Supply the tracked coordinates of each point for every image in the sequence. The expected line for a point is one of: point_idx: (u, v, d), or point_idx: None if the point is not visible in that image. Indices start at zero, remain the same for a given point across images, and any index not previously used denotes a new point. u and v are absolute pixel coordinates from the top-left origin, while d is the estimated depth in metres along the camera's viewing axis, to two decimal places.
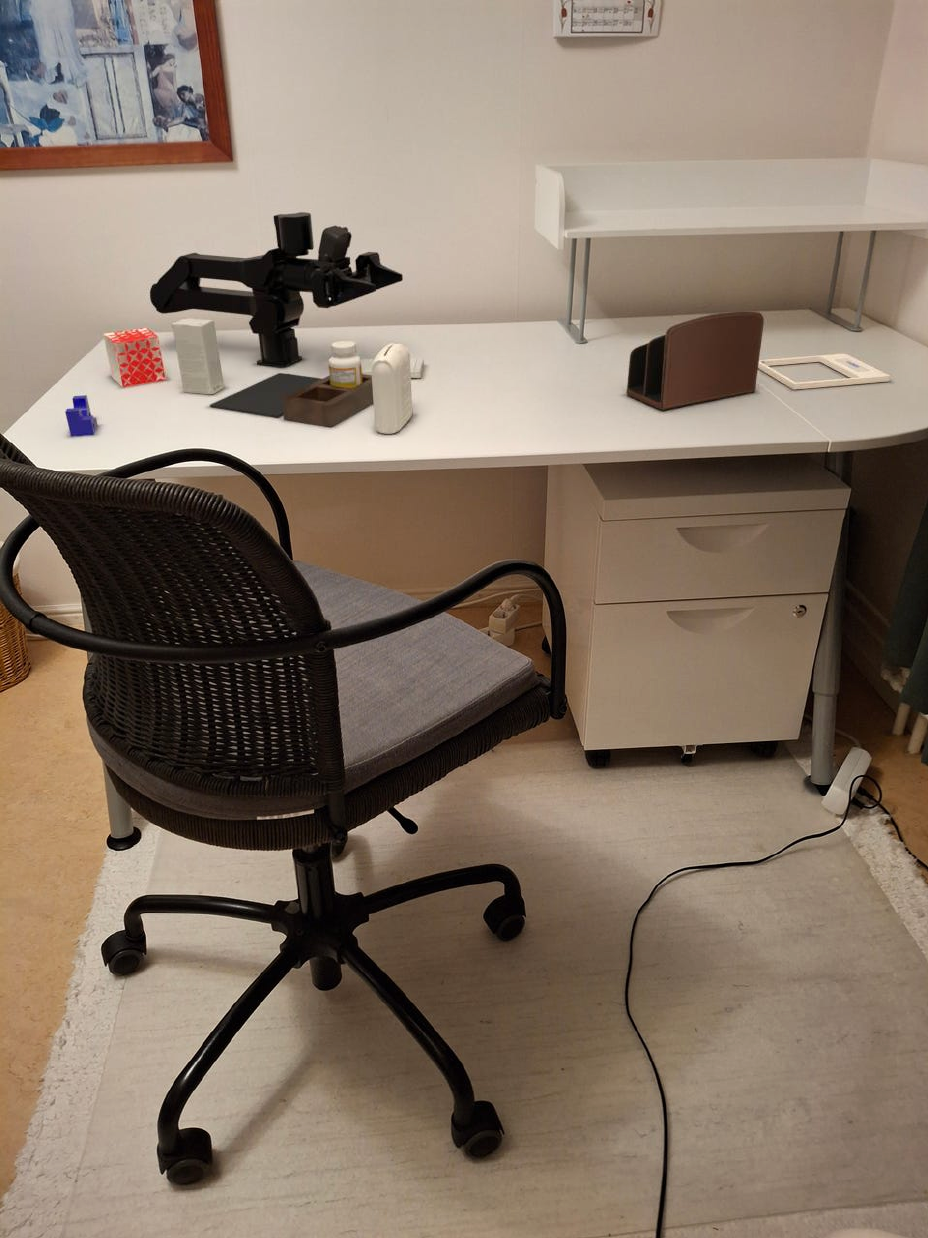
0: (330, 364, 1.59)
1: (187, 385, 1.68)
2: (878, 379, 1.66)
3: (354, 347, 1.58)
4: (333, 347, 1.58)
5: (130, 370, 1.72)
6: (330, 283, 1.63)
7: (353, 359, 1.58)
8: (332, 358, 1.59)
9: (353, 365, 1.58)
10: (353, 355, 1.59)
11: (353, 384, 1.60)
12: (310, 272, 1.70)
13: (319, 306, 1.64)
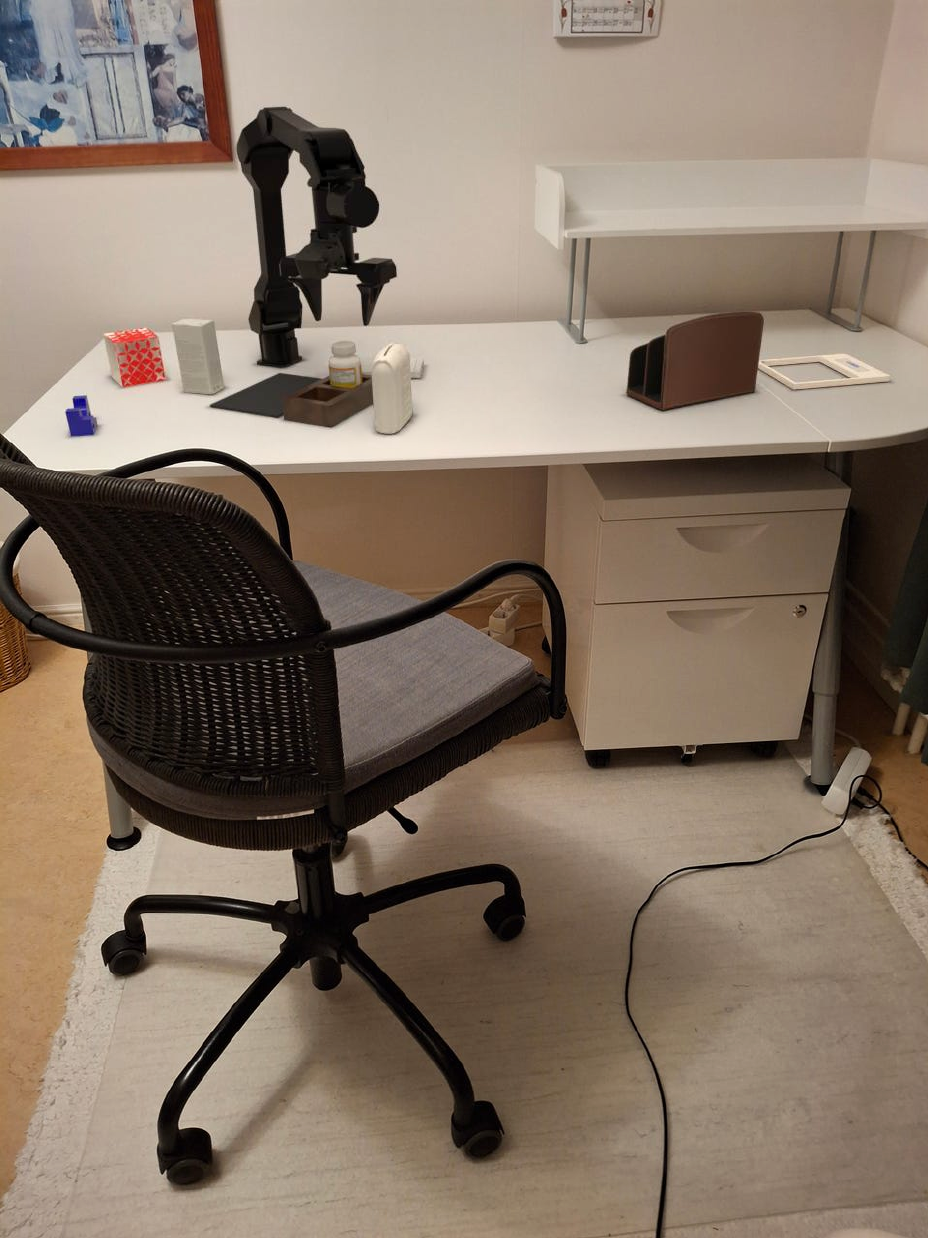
0: (330, 364, 1.59)
1: (187, 385, 1.68)
2: (878, 379, 1.66)
3: (354, 347, 1.58)
4: (333, 347, 1.58)
5: (130, 370, 1.72)
6: None
7: (353, 359, 1.58)
8: (332, 358, 1.59)
9: (353, 365, 1.58)
10: (353, 355, 1.59)
11: (353, 384, 1.60)
12: None
13: None
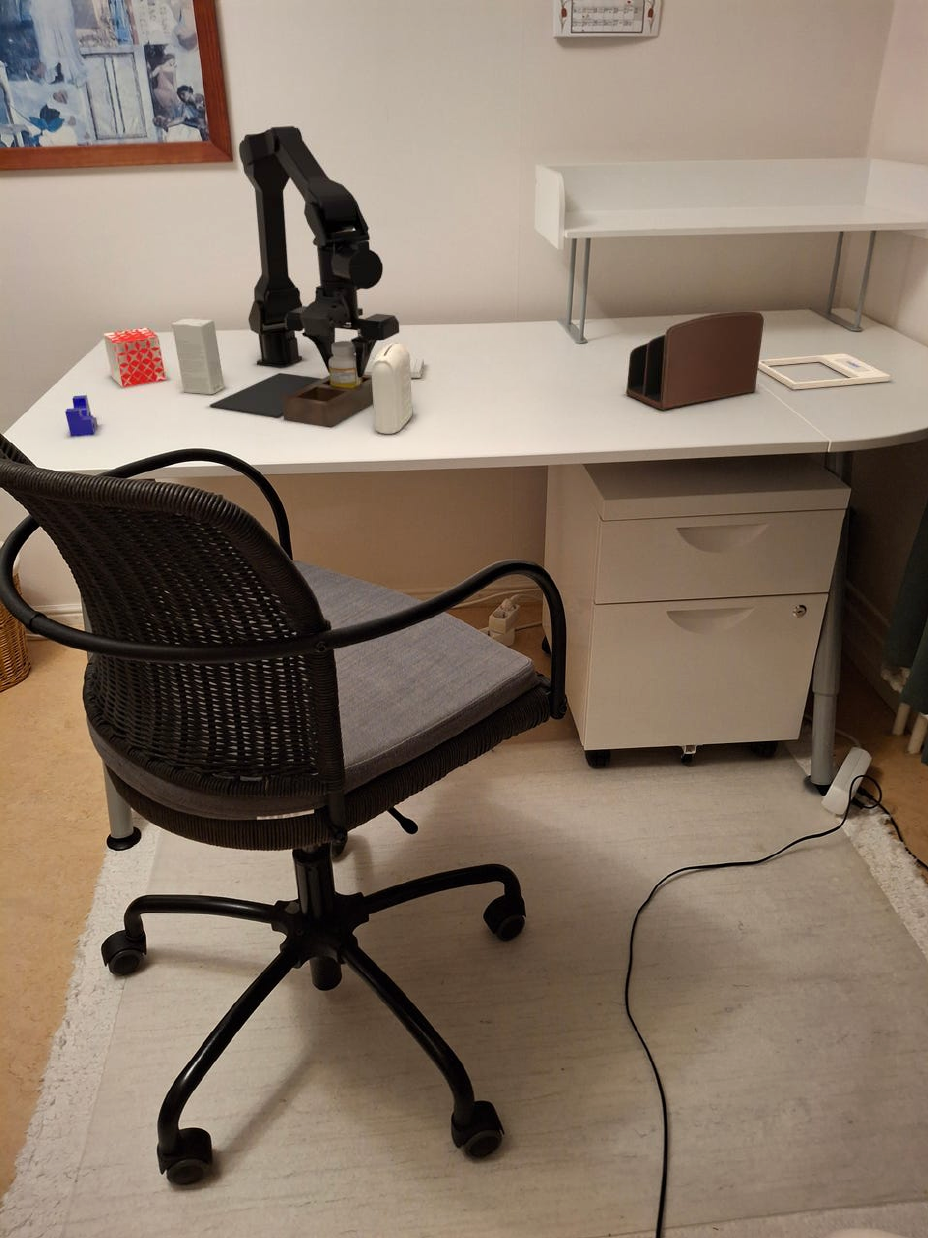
0: (330, 364, 1.59)
1: (187, 385, 1.68)
2: (878, 379, 1.66)
3: (354, 347, 1.58)
4: (333, 347, 1.58)
5: (130, 370, 1.72)
6: None
7: (353, 359, 1.58)
8: (332, 358, 1.59)
9: (353, 365, 1.58)
10: (353, 355, 1.59)
11: (353, 384, 1.60)
12: None
13: None
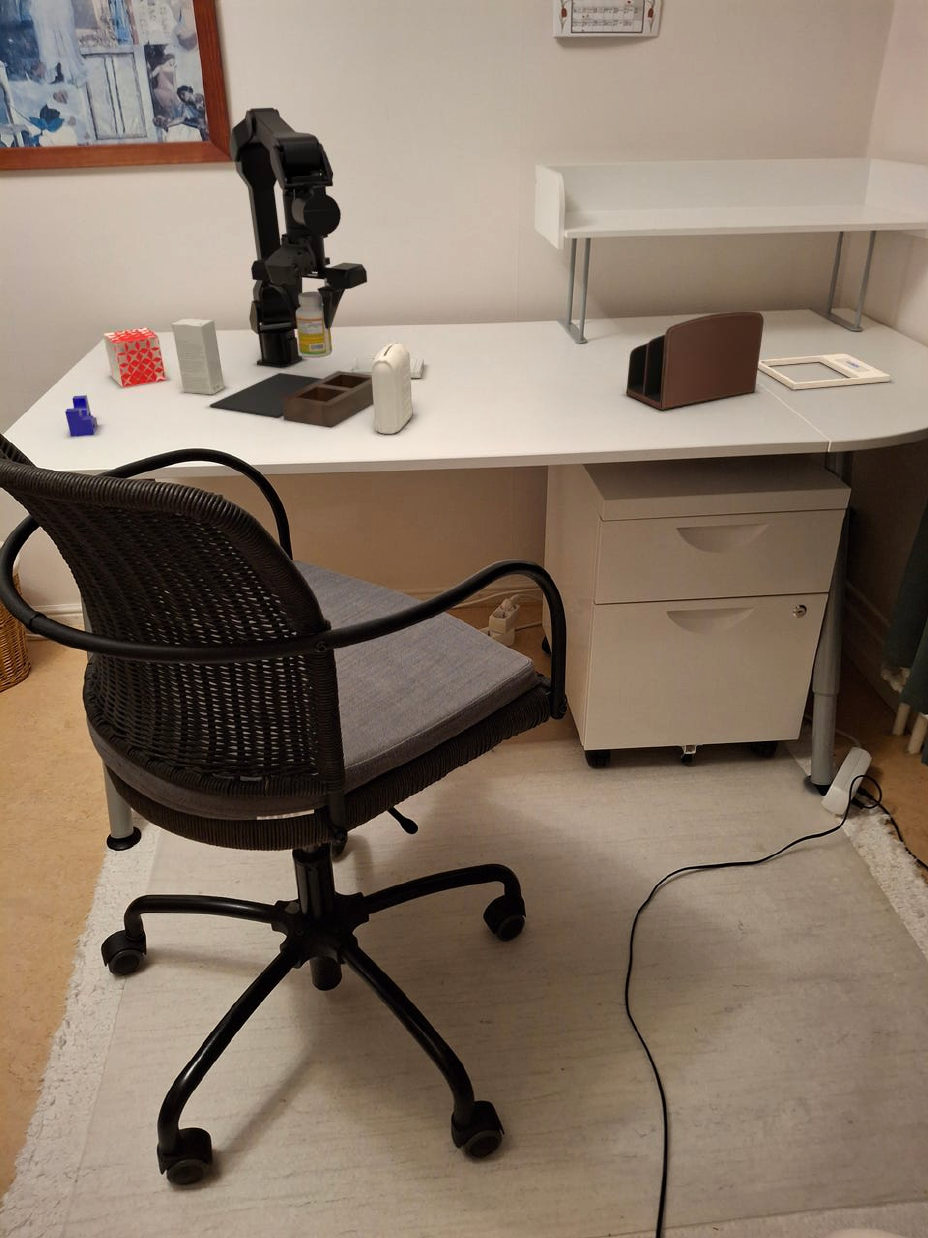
0: (297, 315, 1.56)
1: (187, 385, 1.68)
2: (878, 379, 1.66)
3: (321, 297, 1.55)
4: (300, 297, 1.55)
5: (130, 370, 1.72)
6: None
7: (321, 310, 1.56)
8: (299, 309, 1.56)
9: (320, 315, 1.56)
10: (320, 306, 1.56)
11: (320, 336, 1.57)
12: None
13: None
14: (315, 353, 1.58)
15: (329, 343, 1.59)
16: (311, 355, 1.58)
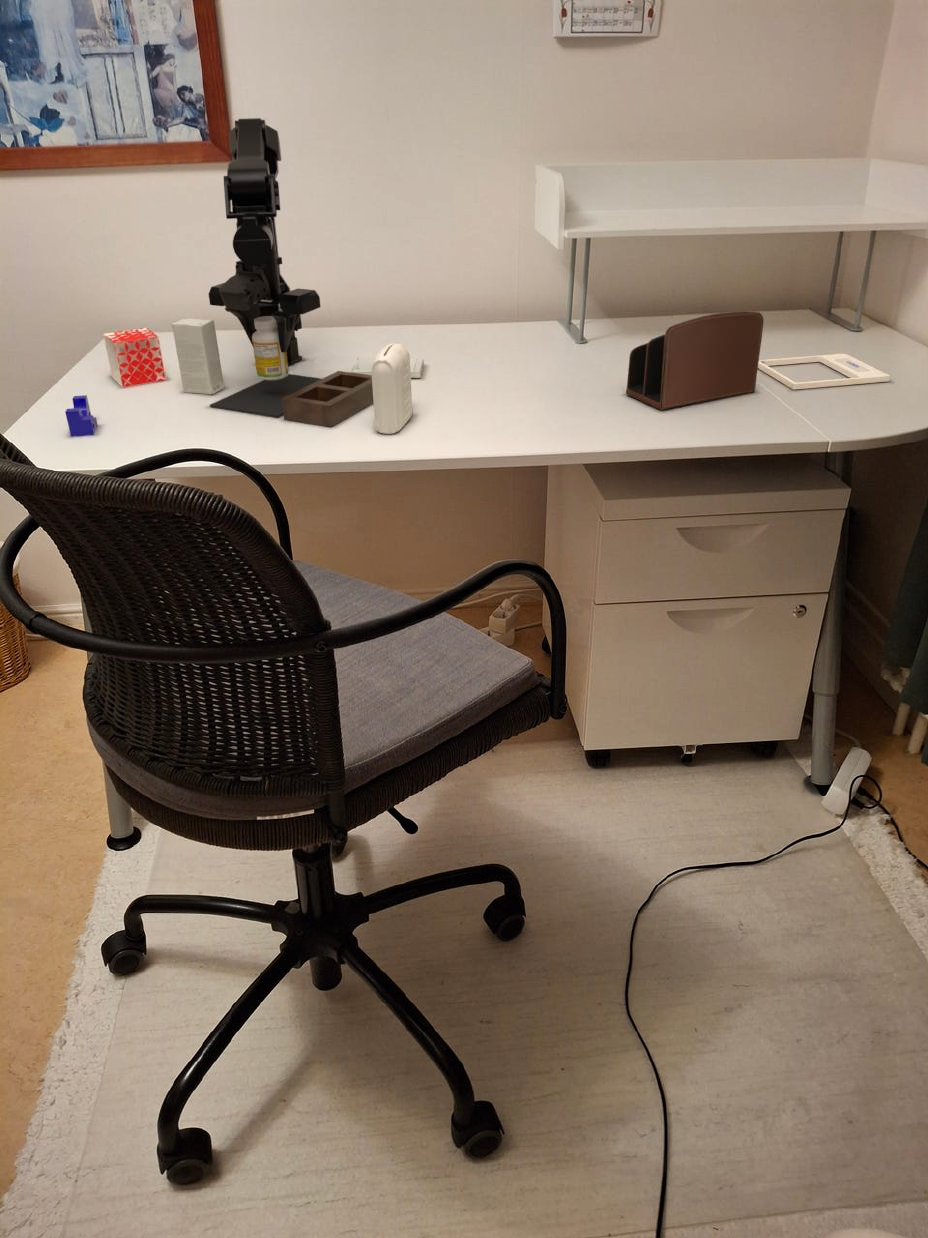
0: (253, 339, 1.60)
1: (187, 385, 1.68)
2: (878, 379, 1.66)
3: None
4: (255, 322, 1.59)
5: (130, 370, 1.72)
6: None
7: (276, 334, 1.60)
8: (255, 333, 1.60)
9: (275, 339, 1.59)
10: (276, 330, 1.60)
11: (276, 359, 1.61)
12: (241, 260, 1.55)
13: None
14: (271, 376, 1.62)
15: (285, 366, 1.63)
16: (267, 378, 1.62)
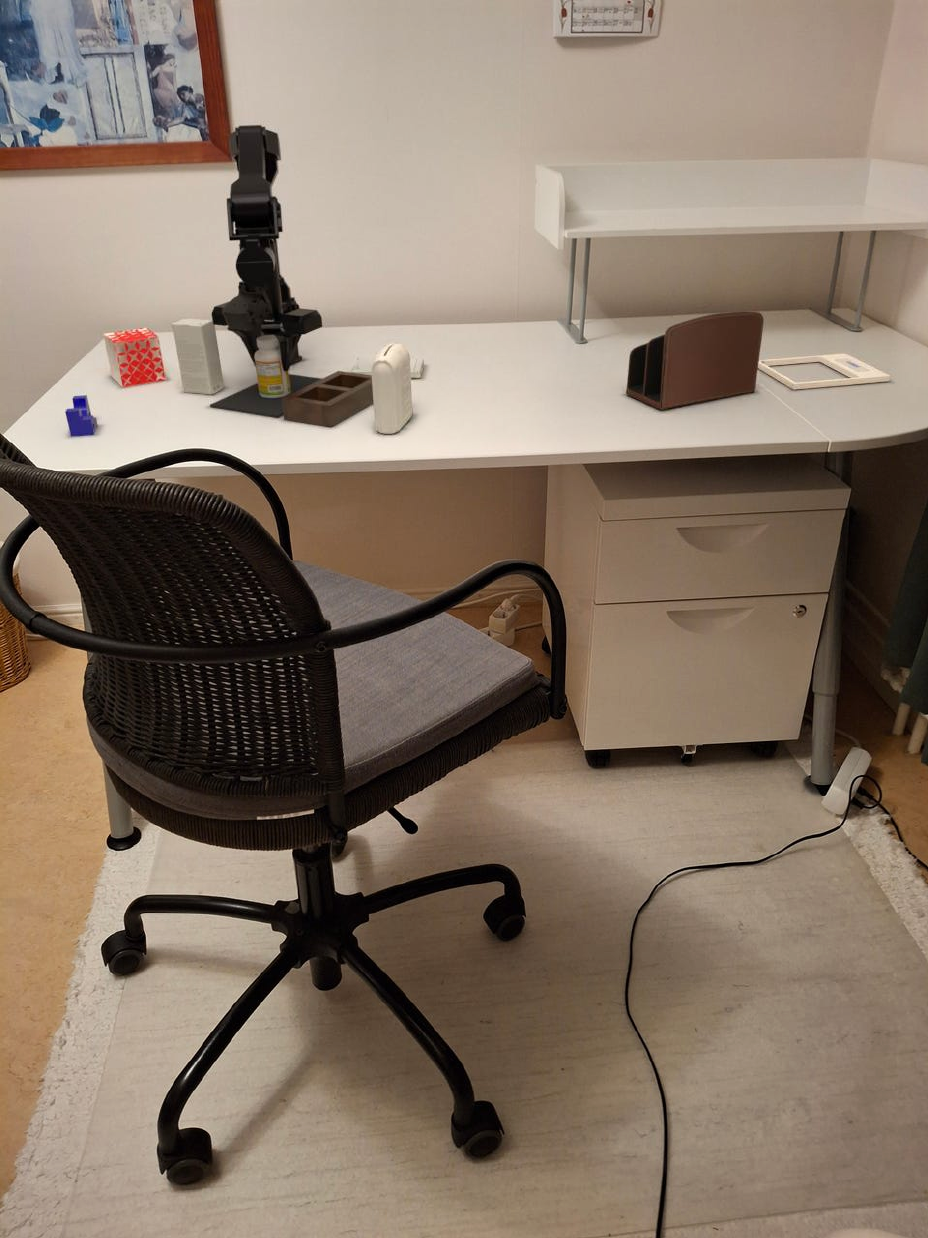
0: (255, 357, 1.62)
1: (187, 385, 1.68)
2: (878, 379, 1.66)
3: None
4: (258, 341, 1.60)
5: (130, 370, 1.72)
6: None
7: (278, 353, 1.61)
8: (258, 352, 1.62)
9: (278, 358, 1.61)
10: (278, 349, 1.62)
11: (278, 378, 1.62)
12: None
13: None
14: (273, 394, 1.64)
15: (287, 384, 1.64)
16: (269, 396, 1.64)
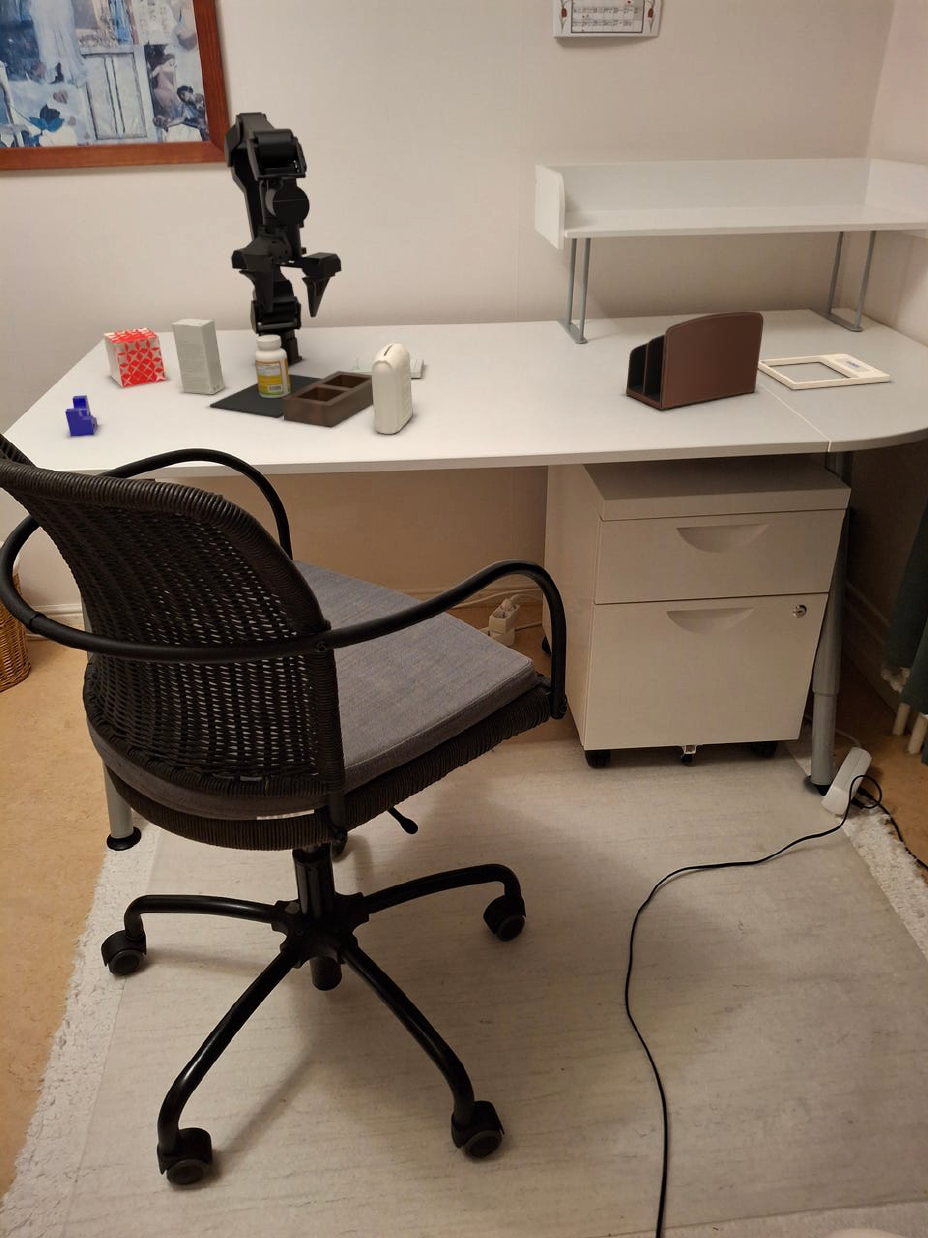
0: (255, 357, 1.62)
1: (187, 385, 1.68)
2: (878, 379, 1.66)
3: (279, 341, 1.61)
4: (258, 341, 1.60)
5: (130, 370, 1.72)
6: None
7: (278, 353, 1.61)
8: (257, 352, 1.62)
9: (278, 358, 1.61)
10: (278, 349, 1.62)
11: (278, 378, 1.62)
12: None
13: None
14: (273, 394, 1.64)
15: (287, 384, 1.64)
16: (269, 396, 1.64)
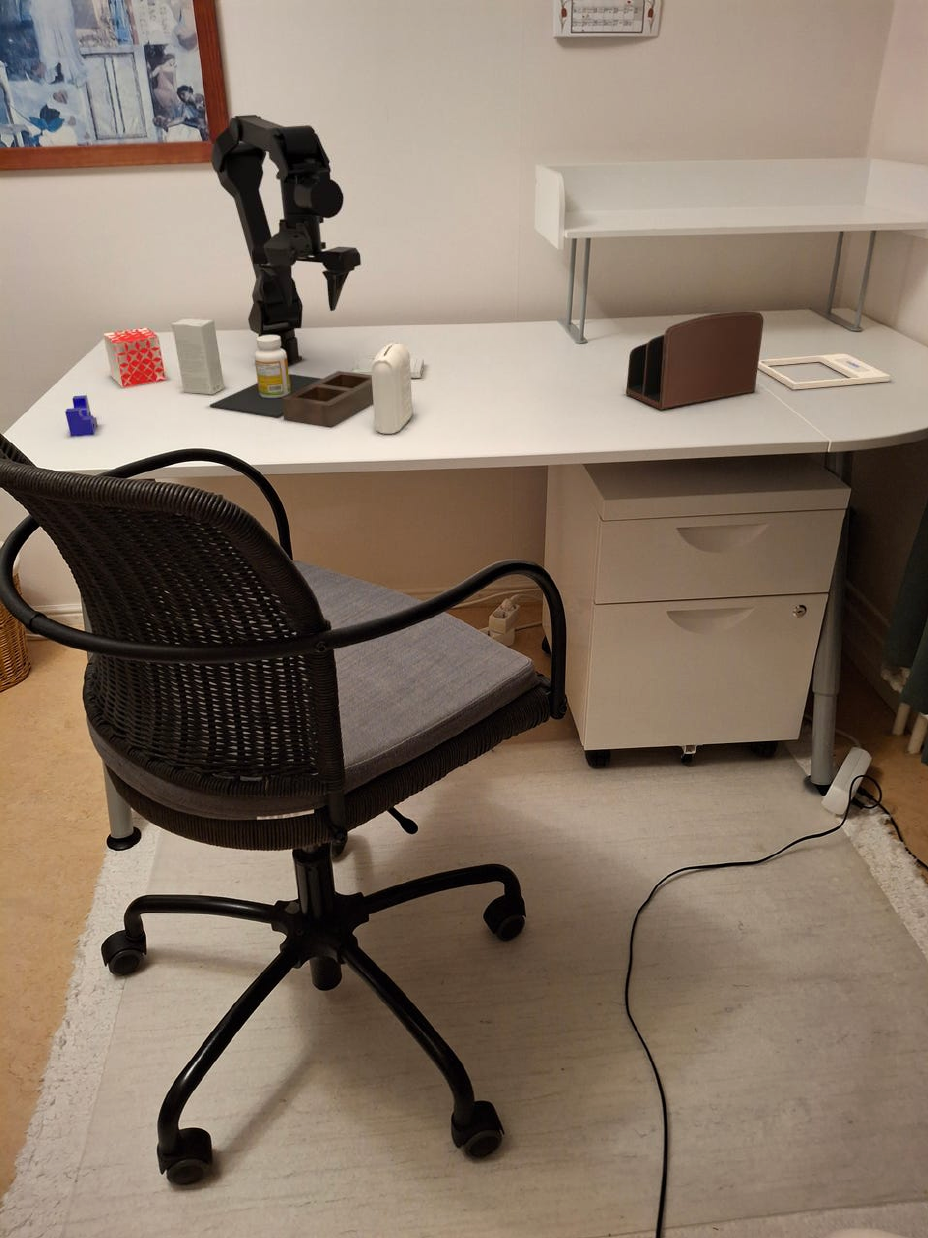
0: (255, 357, 1.62)
1: (187, 385, 1.68)
2: (878, 379, 1.66)
3: (279, 341, 1.61)
4: (258, 341, 1.60)
5: (130, 370, 1.72)
6: None
7: (278, 353, 1.61)
8: (257, 352, 1.62)
9: (278, 358, 1.61)
10: (278, 349, 1.62)
11: (278, 378, 1.62)
12: None
13: None
14: (273, 394, 1.64)
15: (287, 384, 1.64)
16: (269, 396, 1.64)
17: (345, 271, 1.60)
